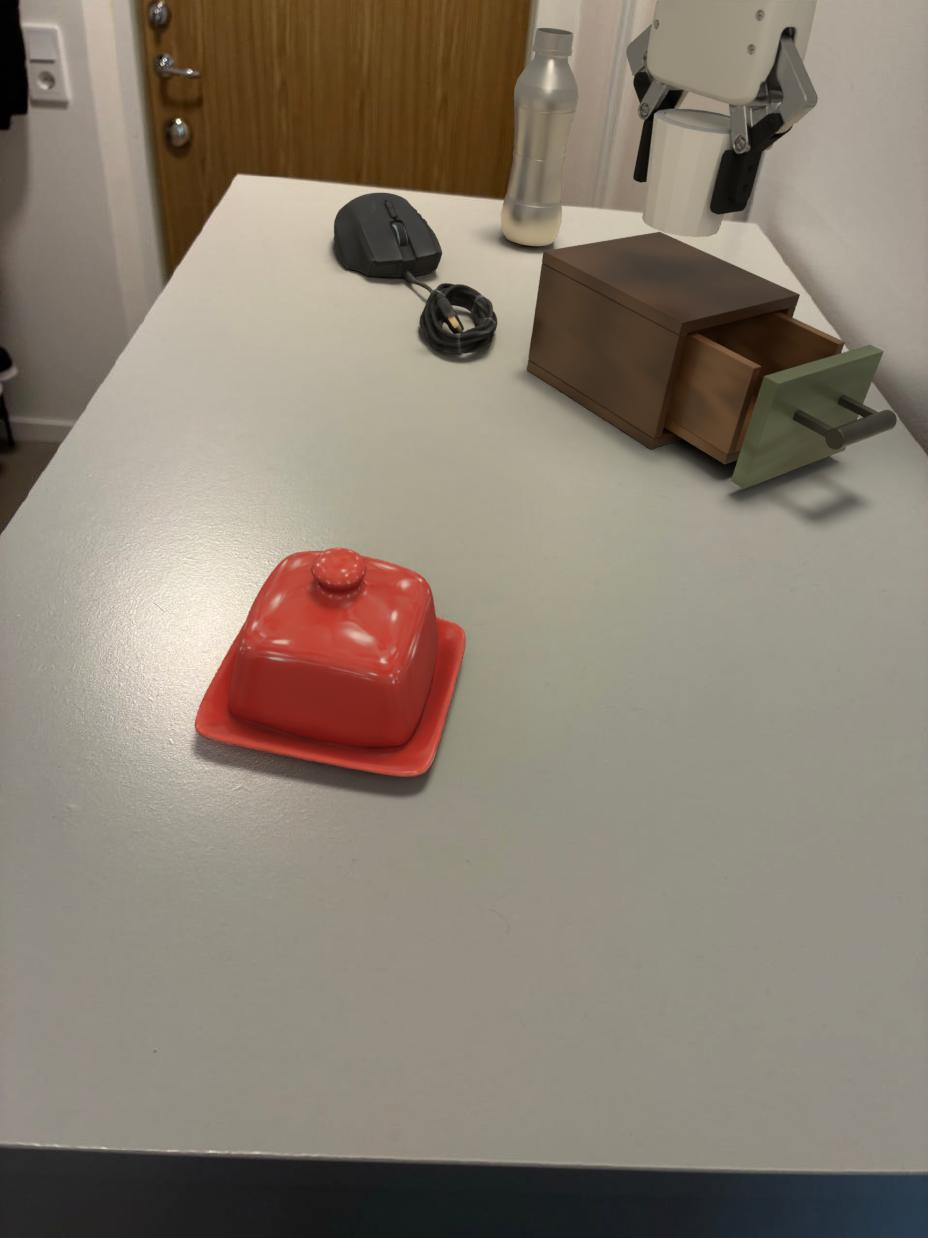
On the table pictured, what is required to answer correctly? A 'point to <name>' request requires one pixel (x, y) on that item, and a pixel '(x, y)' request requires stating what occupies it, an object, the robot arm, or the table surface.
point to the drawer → (773, 395)
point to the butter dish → (338, 667)
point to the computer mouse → (410, 266)
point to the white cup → (685, 171)
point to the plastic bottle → (540, 141)
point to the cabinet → (635, 322)
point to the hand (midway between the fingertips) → (687, 192)
